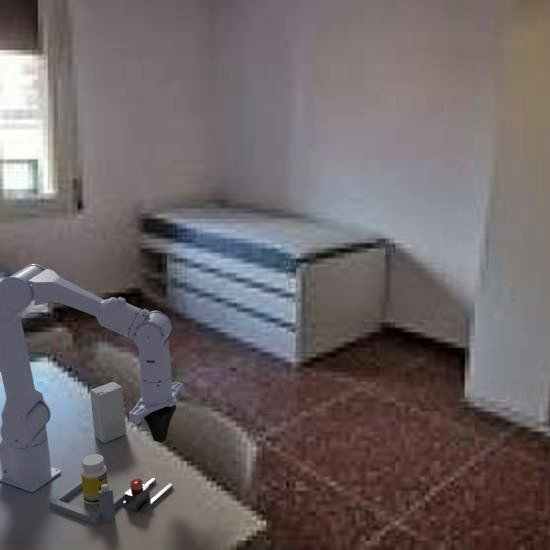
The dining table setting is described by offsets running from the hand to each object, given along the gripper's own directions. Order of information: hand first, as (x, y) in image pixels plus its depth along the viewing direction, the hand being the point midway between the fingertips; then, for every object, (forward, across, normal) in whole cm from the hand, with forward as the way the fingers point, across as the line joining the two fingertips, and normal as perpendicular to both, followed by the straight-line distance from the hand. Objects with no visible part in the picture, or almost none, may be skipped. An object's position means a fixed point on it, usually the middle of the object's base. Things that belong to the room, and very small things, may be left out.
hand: (160, 440), depth 131 cm
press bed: (+10, -11, +8) cm, 17 cm away
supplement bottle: (+10, -9, +9) cm, 16 cm away
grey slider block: (+10, -8, 0) cm, 13 cm away
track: (+10, -4, 0) cm, 11 cm away
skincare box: (+10, +10, +22) cm, 26 cm away
